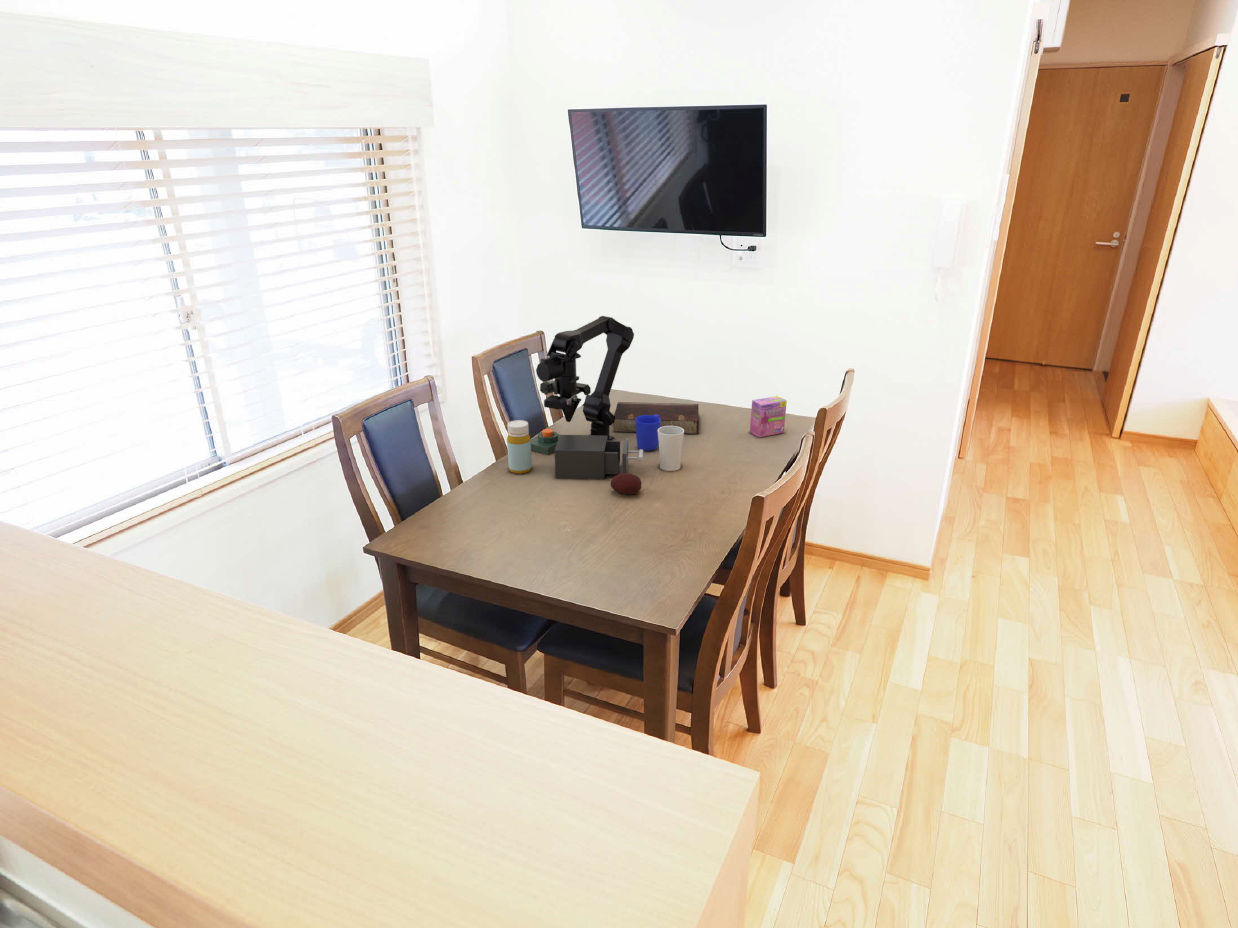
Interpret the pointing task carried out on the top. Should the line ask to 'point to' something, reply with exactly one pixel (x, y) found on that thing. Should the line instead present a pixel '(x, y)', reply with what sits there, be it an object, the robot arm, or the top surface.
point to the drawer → (618, 457)
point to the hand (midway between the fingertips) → (568, 421)
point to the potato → (626, 483)
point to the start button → (548, 432)
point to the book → (667, 412)
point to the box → (768, 416)
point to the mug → (647, 432)
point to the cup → (670, 447)
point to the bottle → (519, 447)
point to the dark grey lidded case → (580, 457)
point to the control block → (545, 443)
